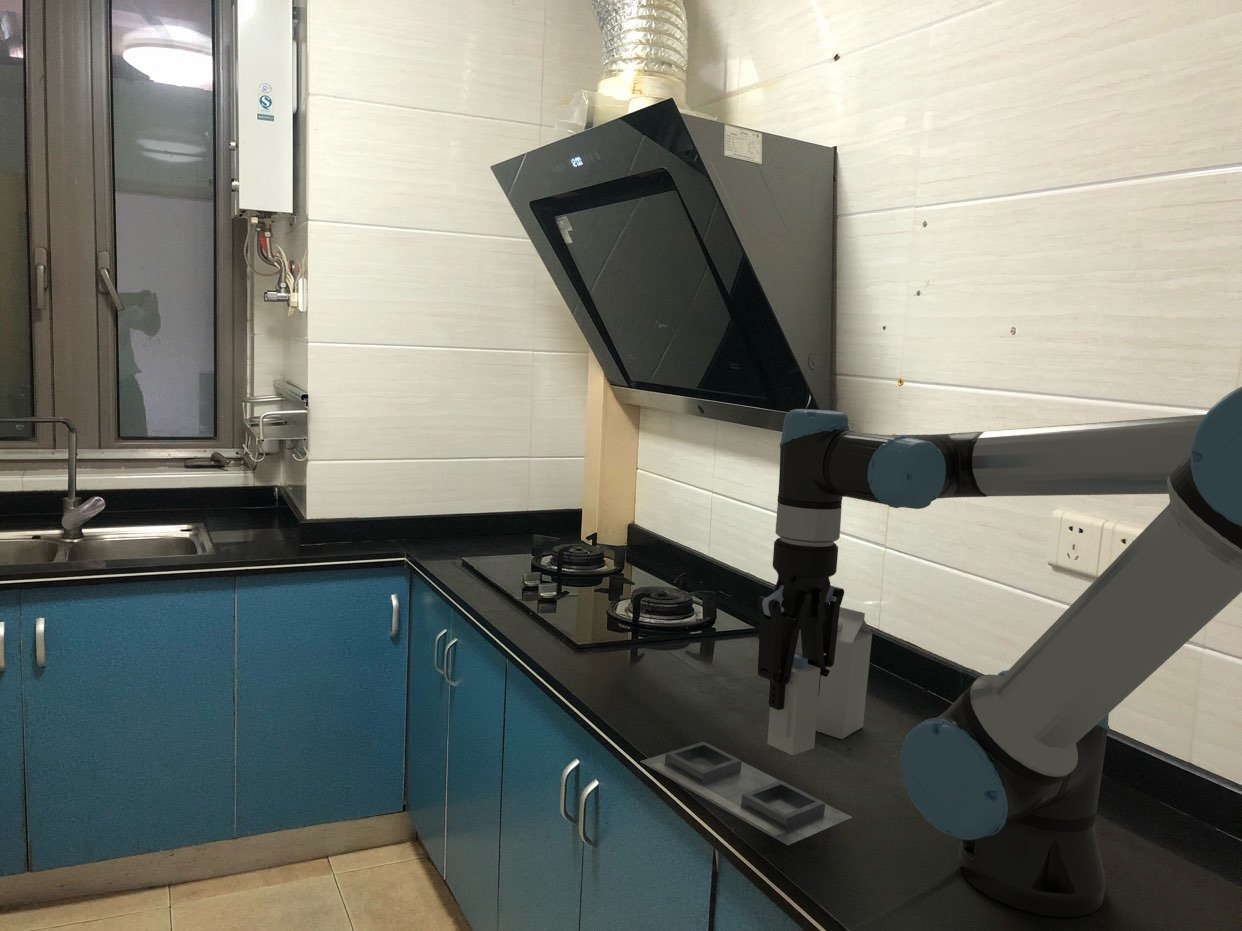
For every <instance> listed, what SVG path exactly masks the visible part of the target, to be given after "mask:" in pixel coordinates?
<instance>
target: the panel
mask: <svg viewBox="0 0 1242 931" xmlns="http://www.w3.org/2000/svg"><path fill="white" fill-rule="evenodd" d="M639 762H640V763H641V764H643V765H645V766H647V767H649V769H652V770H654V771H656V772H657V773H660V774H661V775H662V776H664V777H666V778H668V779H670V780H671V781H673V782H674V783H677V784H678V785H680V786H682V787H684V788H685V789H688V790H689V791H691V792H693V793H694V794H696V795H698V796H700V797H701V798H702V799H706V800H707V801H708V802H710V803H712V804H713V805H716V806H717V807H719V808H720V809H723V810H724V811H725V812H728V813H730V814H731V815H733V816H734V817H737V818H739V819H740V820H742V821H743V822H745V823H747V824H749V825H751V826H752V827H754V828H756V829H758V830H760V831H761V832H763V833H764V834H766V835H768V836H770V837H771V838H774V839H775V840H777V841H779V842H780V843H783V844H784V845H786V846H790V845H793V844H795V843H797V842H799V841H802V840H804V839H806V838H808V837H811V836H813V835H815V834H818V833H821V832H822V831H824V830H827V829H829V828H832V827H834V826H837V825H839V824H841V823H843V822H846V821H848V820H850V819H853V816H850V815H849V814H846V813H845V812H843V811H840V810H839V809H837V808H835V807H833V806H831V805H829V804H827V803H826V802H824V801H823V800H822V799H819V798H817V797H815V796H812V794H811V795H810V794H809V793H807V792H805V791H803V790H801V789H799V788H797V787H795V786H793V785H791V784H789V783H787V782H785V781H783V780H779V779H777V777H774V776H772V775H769V774H767V773H766V772H764V771H761V770H760V769H758V768H756V767H754V766H752V765H749V764H748V763H746V762H744V761H743V760H741V759H739V758H738V757H735V756H733V755H731V754H730V753H727V752H726V751H723V750H721V749H720V748H717V747H716V746H713V745H711V744H709V743H707V742H705V741H701V742H698V743H694V744H690V745H688V746H684V747H680V748H678V749H675V750H672V751H669V752H665V753H662V754H659V755H656V756H652V757H650V758H646V759H643V760H640V761H639Z"/></svg>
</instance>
